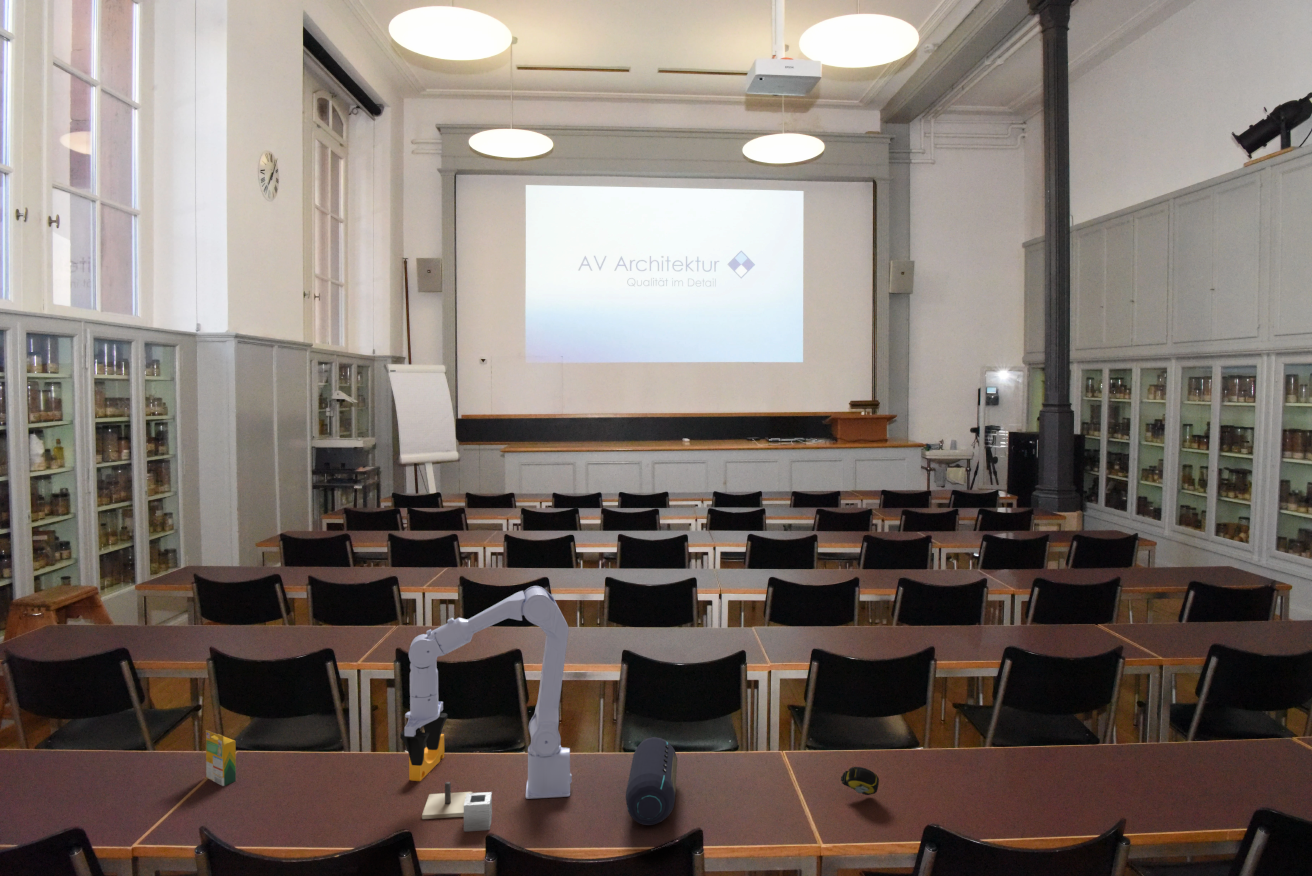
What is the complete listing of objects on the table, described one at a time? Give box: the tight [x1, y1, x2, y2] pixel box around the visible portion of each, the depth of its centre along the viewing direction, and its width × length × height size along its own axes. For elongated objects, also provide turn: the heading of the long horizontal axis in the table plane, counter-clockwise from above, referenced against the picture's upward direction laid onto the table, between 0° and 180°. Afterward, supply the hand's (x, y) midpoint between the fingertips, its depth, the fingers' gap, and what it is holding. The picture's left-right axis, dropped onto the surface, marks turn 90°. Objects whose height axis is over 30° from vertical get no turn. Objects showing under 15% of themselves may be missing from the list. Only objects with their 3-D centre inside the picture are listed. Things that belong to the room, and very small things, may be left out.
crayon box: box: [205, 729, 237, 787], centre depth 174 cm, size 7×3×12 cm, turn 58°
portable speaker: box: [625, 736, 678, 826], centre depth 165 cm, size 25×10×10 cm, turn 177°
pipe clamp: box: [408, 733, 445, 782], centre depth 180 cm, size 12×4×6 cm, turn 169°
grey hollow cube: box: [463, 791, 493, 832], centre depth 156 cm, size 5×5×5 cm
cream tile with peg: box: [421, 781, 473, 820], centre depth 163 cm, size 9×9×5 cm
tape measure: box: [840, 766, 880, 796], centre depth 166 cm, size 7×7×4 cm
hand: (425, 756), depth 165 cm, fingers open, 7 cm apart
